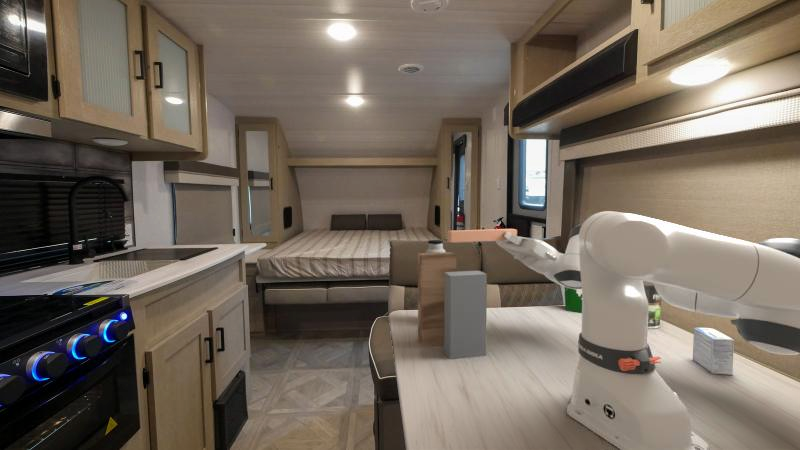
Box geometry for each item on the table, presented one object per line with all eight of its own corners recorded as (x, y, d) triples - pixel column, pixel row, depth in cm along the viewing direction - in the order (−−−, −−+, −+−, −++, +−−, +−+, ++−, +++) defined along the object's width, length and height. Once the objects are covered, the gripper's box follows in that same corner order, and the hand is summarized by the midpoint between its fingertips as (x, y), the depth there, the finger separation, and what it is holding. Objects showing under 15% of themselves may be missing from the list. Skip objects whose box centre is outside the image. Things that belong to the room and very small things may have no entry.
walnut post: (456, 344, 105) (456, 254, 103) (422, 347, 102) (422, 256, 101) (450, 337, 109) (450, 252, 108) (418, 340, 107) (417, 253, 106)
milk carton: (589, 314, 130) (590, 259, 128) (562, 310, 135) (563, 257, 134) (593, 308, 137) (594, 256, 136) (567, 304, 142) (568, 254, 141)
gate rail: (516, 239, 104) (516, 229, 104) (451, 242, 100) (451, 231, 100) (511, 238, 107) (511, 228, 107) (447, 241, 103) (447, 230, 103)
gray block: (486, 355, 97) (486, 274, 95) (450, 359, 95) (450, 276, 93) (478, 348, 102) (478, 270, 100) (444, 351, 100) (444, 272, 98)
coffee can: (664, 323, 120) (665, 281, 119) (655, 331, 113) (657, 287, 112) (628, 316, 128) (630, 277, 127) (618, 323, 121) (619, 281, 120)
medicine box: (733, 375, 85) (735, 339, 84) (711, 374, 86) (713, 338, 85) (711, 361, 93) (713, 327, 92) (691, 359, 94) (693, 326, 93)
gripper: (554, 271, 98) (514, 247, 94) (514, 259, 117) (480, 239, 114) (565, 250, 98) (526, 226, 95) (523, 242, 118) (489, 221, 115)
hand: (500, 233), depth 105 cm, fingers closed on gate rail, 3 cm apart
